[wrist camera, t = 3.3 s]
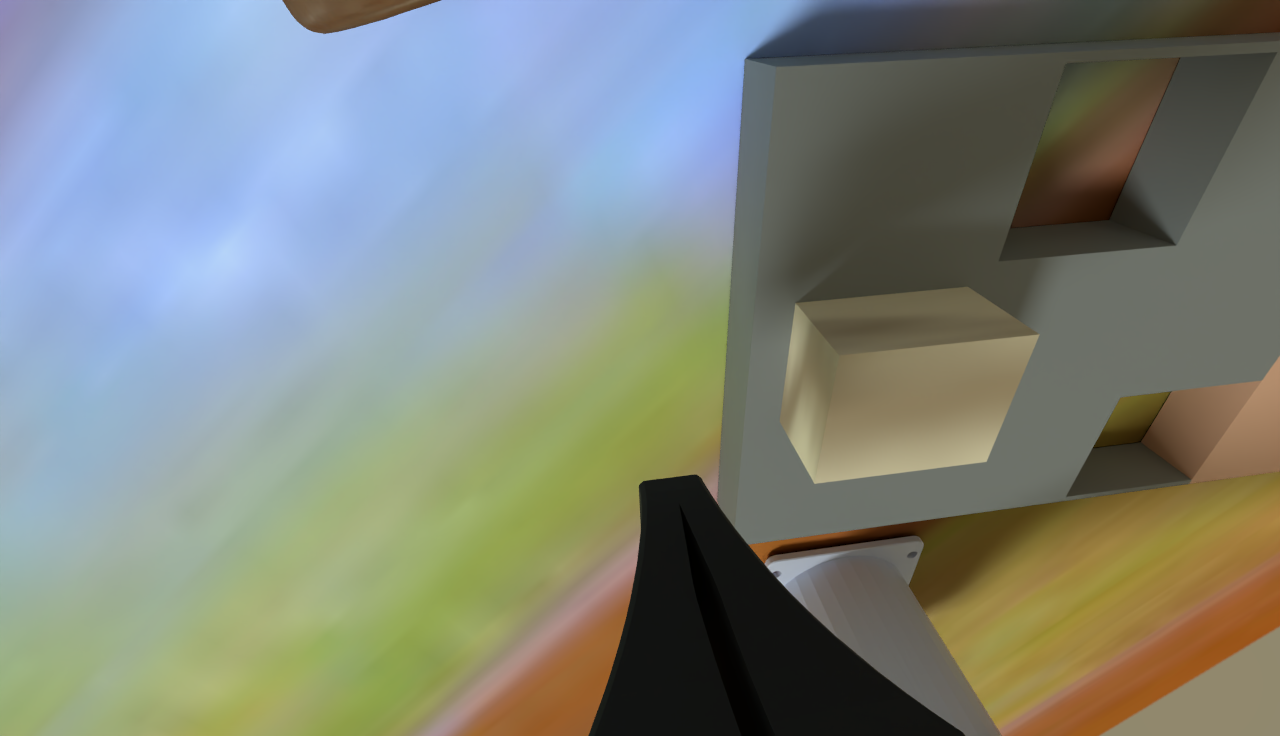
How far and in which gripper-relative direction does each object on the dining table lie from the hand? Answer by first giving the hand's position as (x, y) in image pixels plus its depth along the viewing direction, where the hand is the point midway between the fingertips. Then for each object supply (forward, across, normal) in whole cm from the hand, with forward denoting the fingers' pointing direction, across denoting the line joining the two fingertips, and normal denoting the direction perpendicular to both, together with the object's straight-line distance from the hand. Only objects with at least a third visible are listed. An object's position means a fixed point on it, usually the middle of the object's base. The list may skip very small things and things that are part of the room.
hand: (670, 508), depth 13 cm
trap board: (+8, -17, 0) cm, 19 cm away
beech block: (+5, -8, 0) cm, 9 cm away
